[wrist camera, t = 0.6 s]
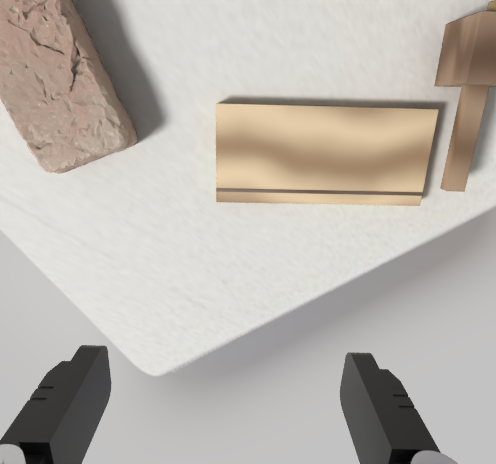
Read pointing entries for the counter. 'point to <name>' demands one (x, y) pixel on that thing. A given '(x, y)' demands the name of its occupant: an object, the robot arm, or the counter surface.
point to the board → (322, 154)
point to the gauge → (467, 86)
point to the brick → (58, 86)
